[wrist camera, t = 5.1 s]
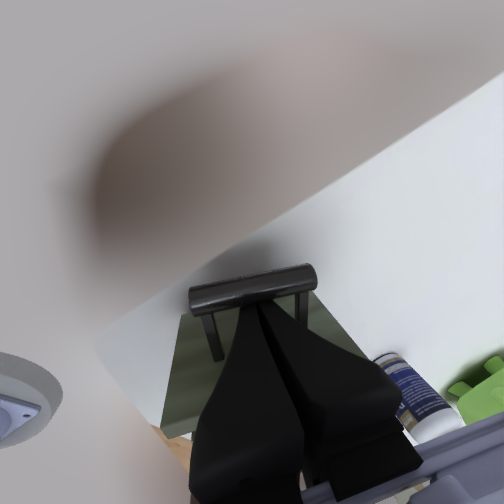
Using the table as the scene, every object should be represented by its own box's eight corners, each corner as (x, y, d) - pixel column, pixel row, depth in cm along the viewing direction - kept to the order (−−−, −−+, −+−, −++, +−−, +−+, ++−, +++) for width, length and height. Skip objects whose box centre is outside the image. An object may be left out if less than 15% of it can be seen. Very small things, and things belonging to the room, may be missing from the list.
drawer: (159, 257, 12) (106, 354, 6) (310, 230, 13) (396, 284, 7) (213, 401, 19) (215, 508, 13) (304, 374, 21) (343, 459, 15)
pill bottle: (363, 364, 24) (447, 472, 16) (399, 346, 24) (503, 445, 16) (367, 383, 27) (442, 485, 18) (399, 366, 27) (489, 461, 18)
